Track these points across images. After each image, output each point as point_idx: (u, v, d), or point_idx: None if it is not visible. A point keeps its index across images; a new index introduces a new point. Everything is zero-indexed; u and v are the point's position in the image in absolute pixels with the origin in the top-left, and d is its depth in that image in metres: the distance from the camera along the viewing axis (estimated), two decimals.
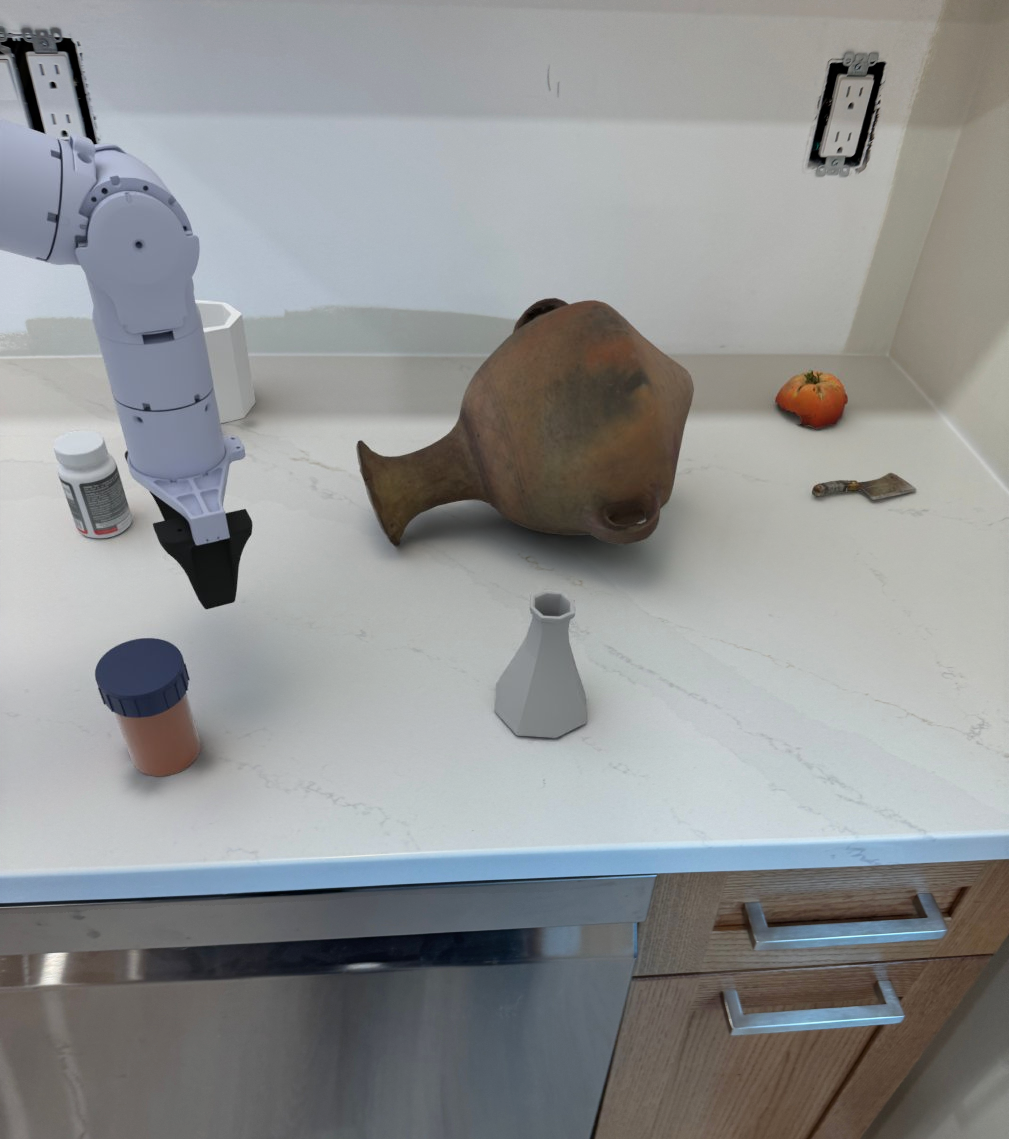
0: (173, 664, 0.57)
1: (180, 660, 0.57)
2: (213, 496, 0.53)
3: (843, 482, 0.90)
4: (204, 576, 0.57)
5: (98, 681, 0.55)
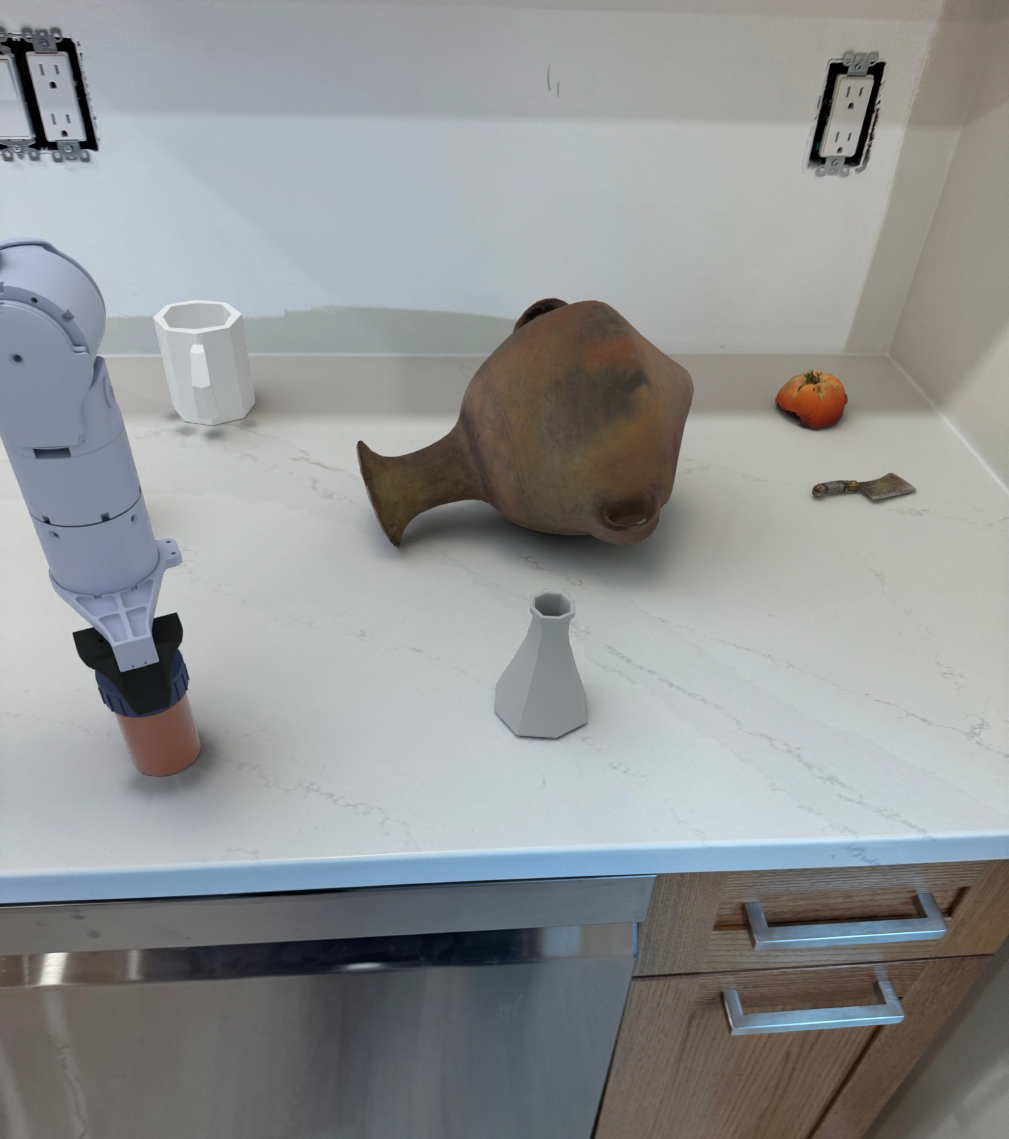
0: (173, 664, 0.57)
1: (180, 660, 0.57)
2: (141, 614, 0.48)
3: (843, 482, 0.90)
4: (133, 683, 0.53)
5: (98, 681, 0.55)
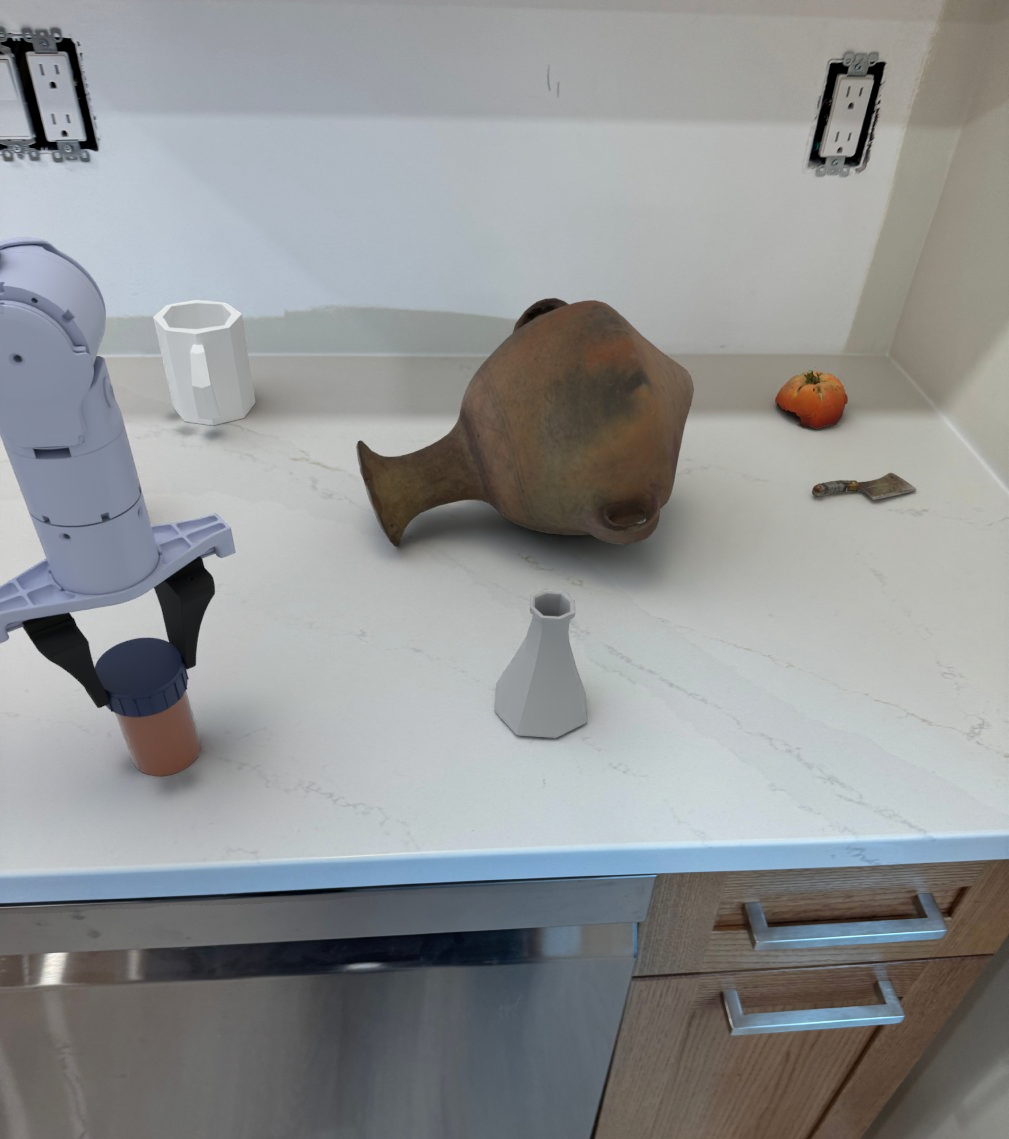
0: (137, 643, 0.58)
1: (131, 640, 0.58)
2: (181, 531, 0.54)
3: (843, 482, 0.90)
4: None
5: (161, 685, 0.55)
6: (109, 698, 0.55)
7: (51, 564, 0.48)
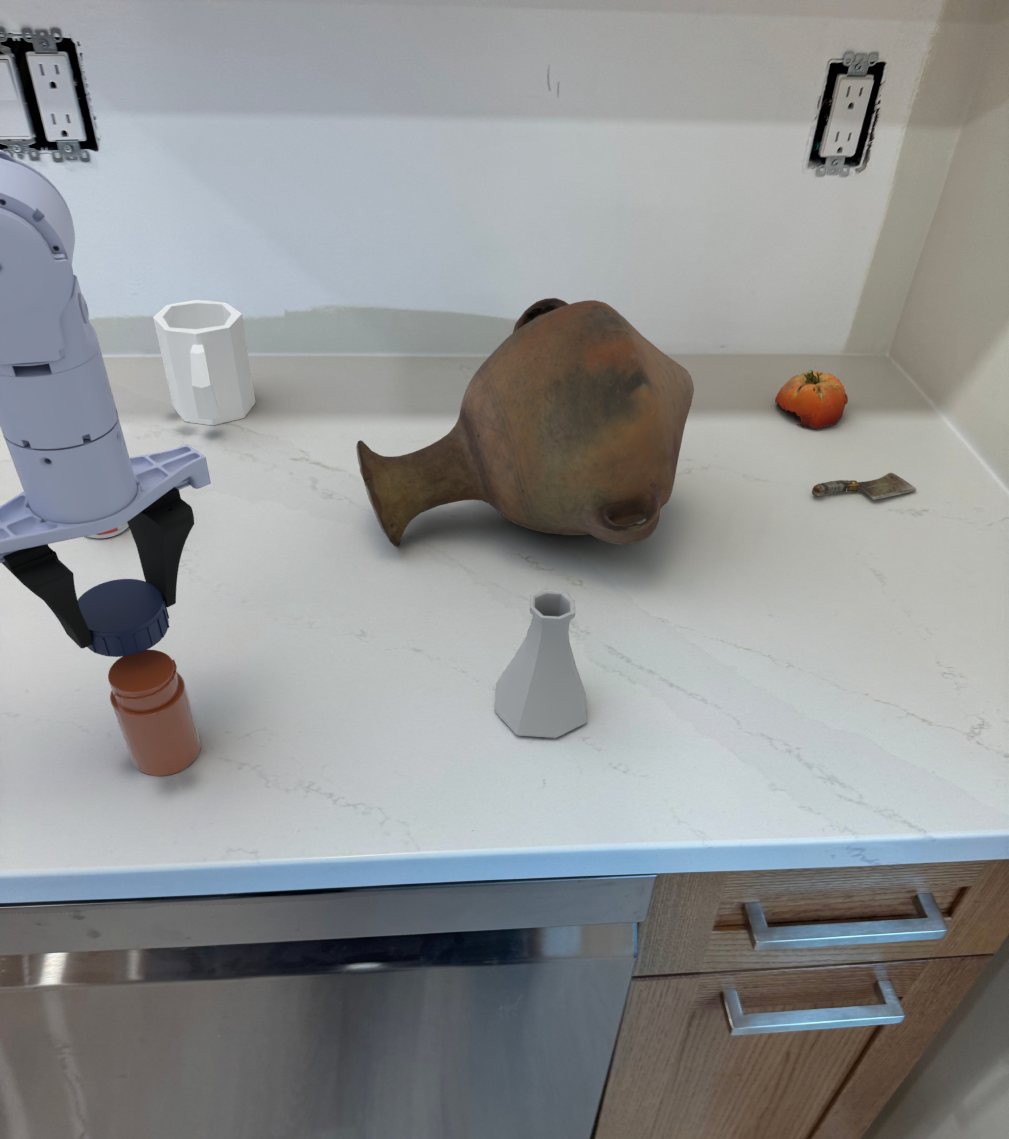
0: (114, 585, 0.57)
1: (107, 582, 0.57)
2: (155, 463, 0.54)
3: (843, 482, 0.90)
4: None
5: (144, 622, 0.55)
6: (92, 638, 0.55)
7: (30, 494, 0.47)
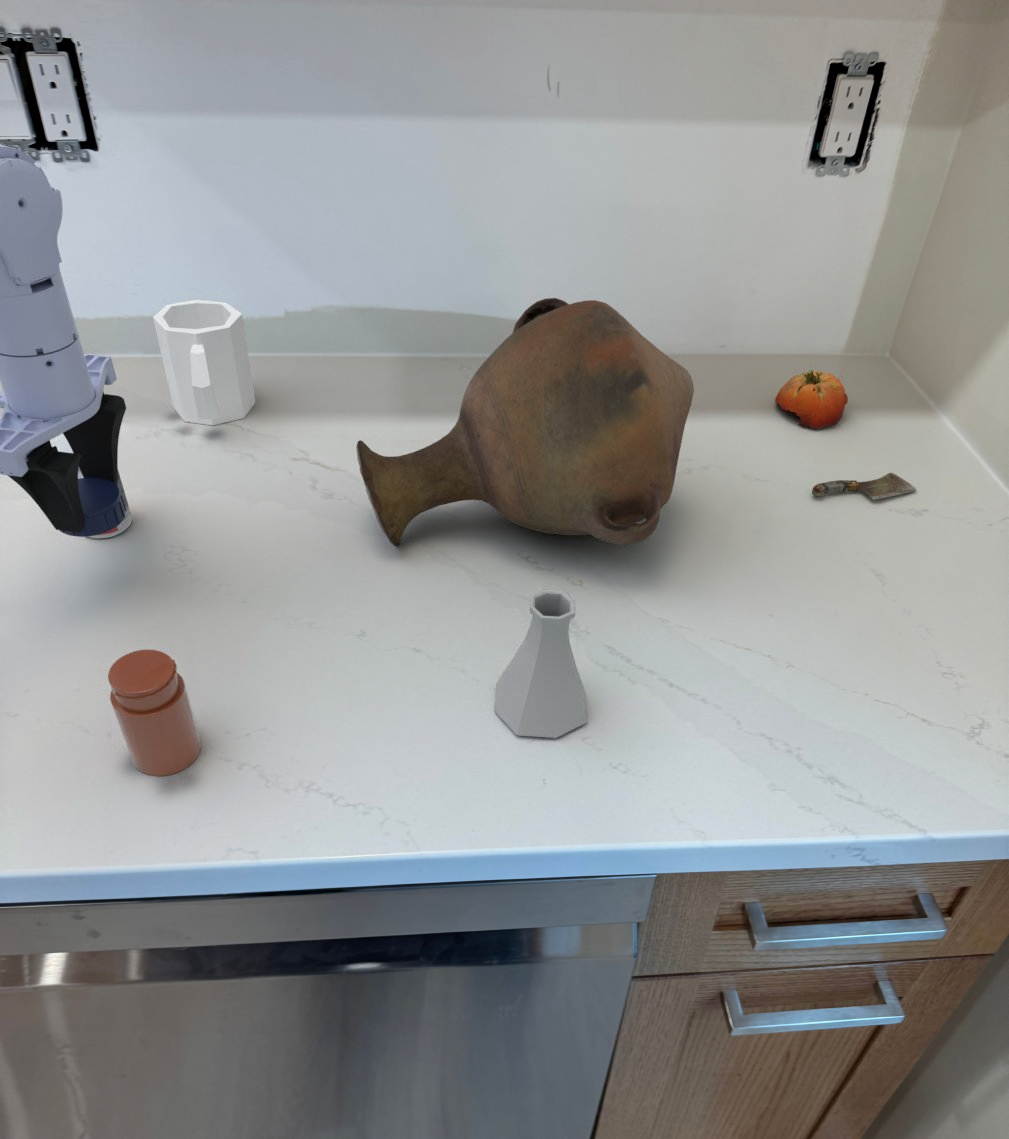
0: None
1: None
2: None
3: (843, 482, 0.90)
4: None
5: (117, 497, 0.69)
6: None
7: (32, 400, 0.61)
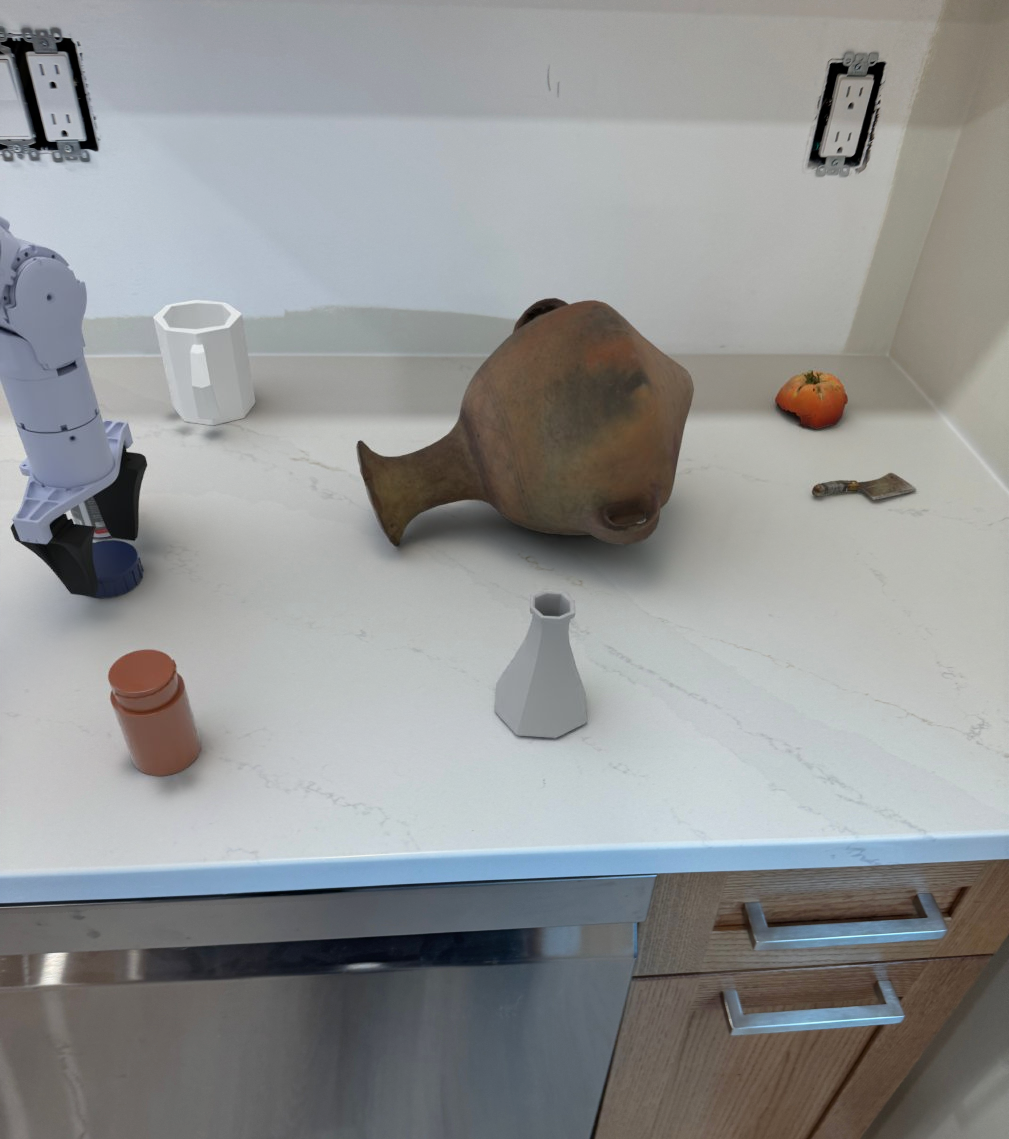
0: None
1: None
2: None
3: (843, 482, 0.90)
4: None
5: (135, 560, 0.74)
6: (104, 585, 0.72)
7: (56, 471, 0.65)
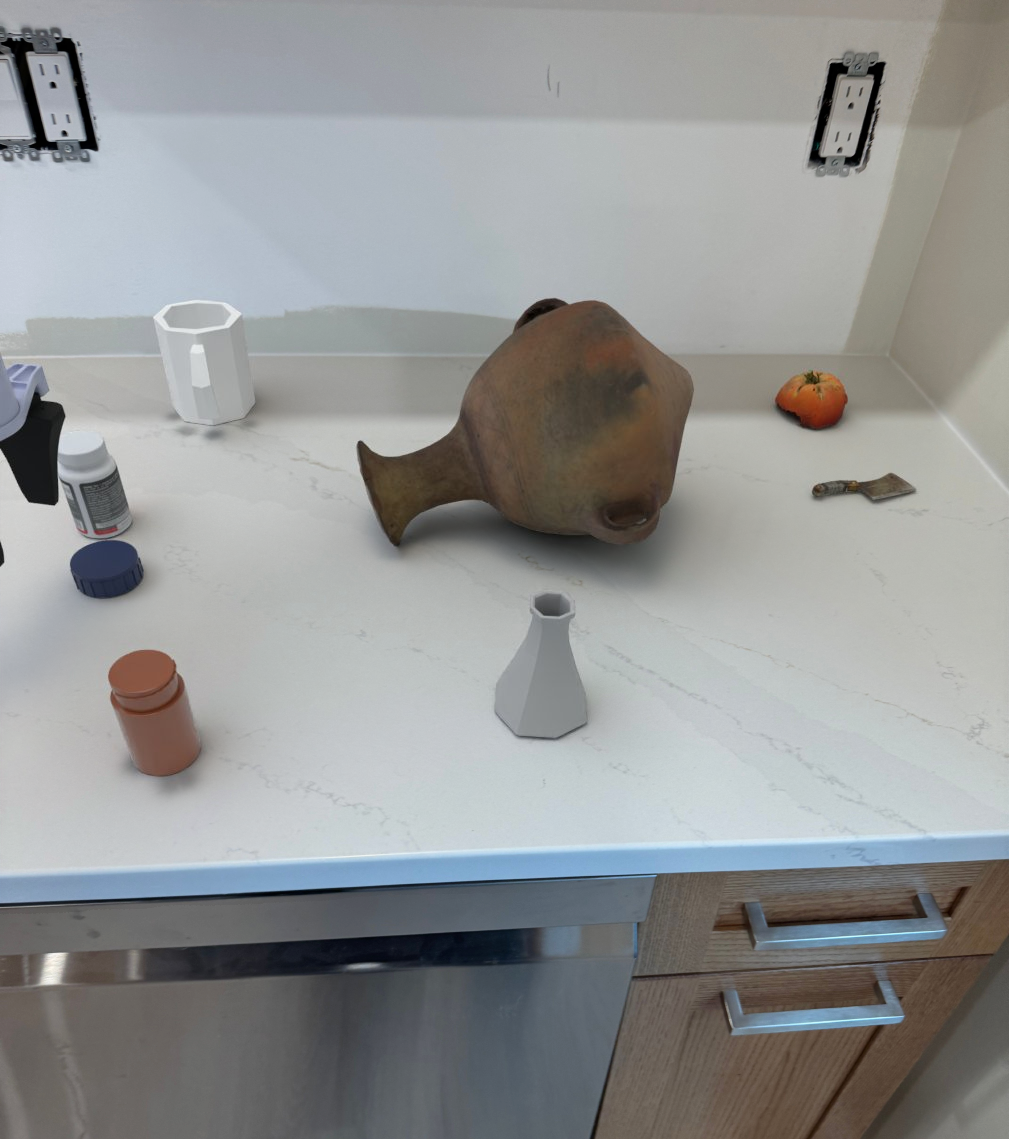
0: (85, 550, 0.74)
1: (79, 550, 0.74)
2: None
3: (843, 482, 0.90)
4: None
5: (135, 560, 0.74)
6: (104, 585, 0.72)
7: None
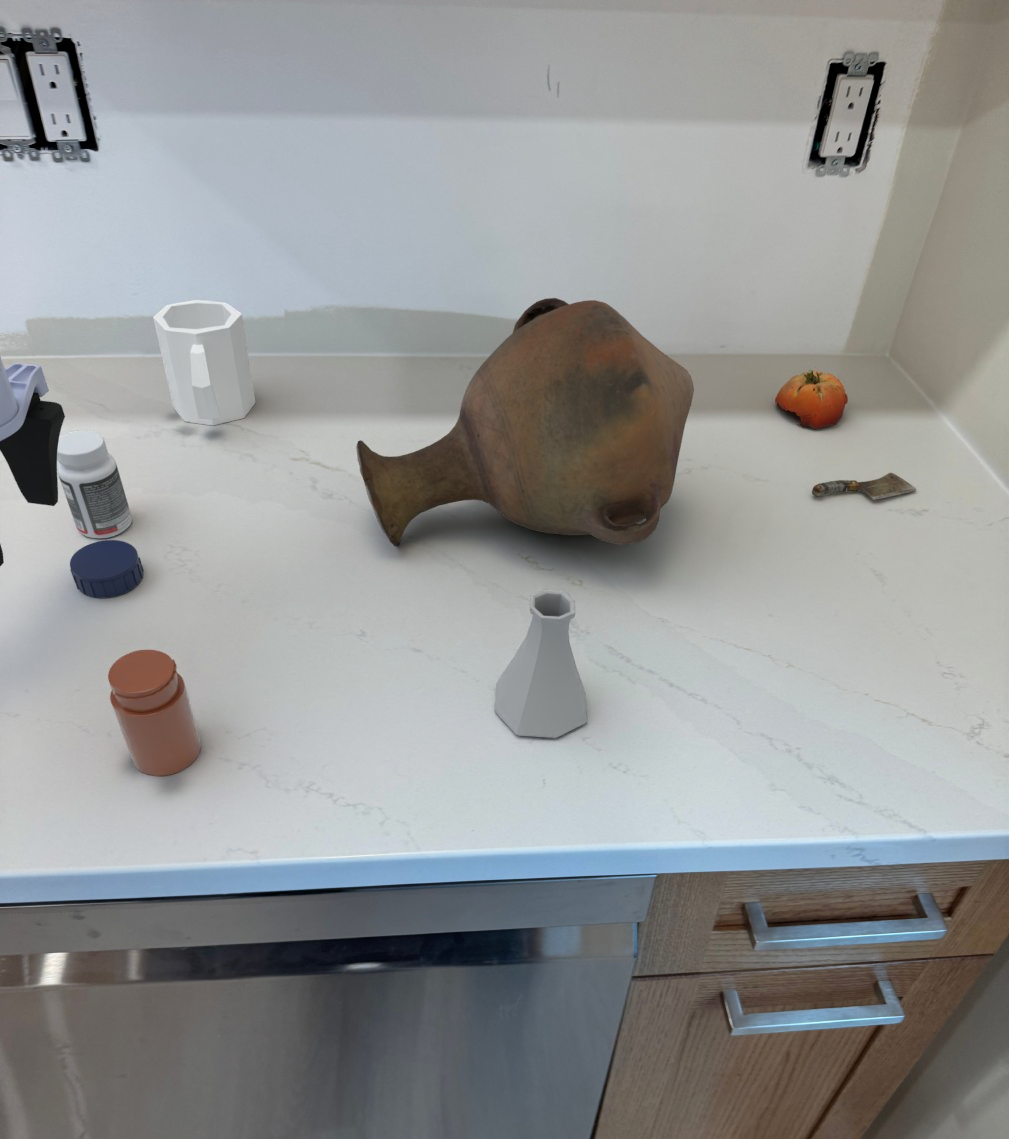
0: (85, 550, 0.74)
1: (79, 550, 0.74)
2: None
3: (843, 482, 0.90)
4: None
5: (135, 560, 0.74)
6: (104, 585, 0.72)
7: None
